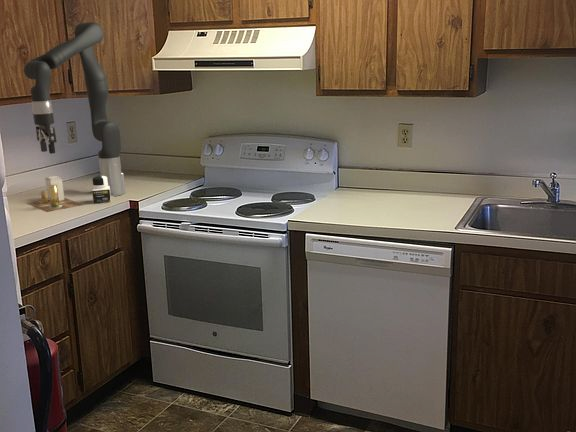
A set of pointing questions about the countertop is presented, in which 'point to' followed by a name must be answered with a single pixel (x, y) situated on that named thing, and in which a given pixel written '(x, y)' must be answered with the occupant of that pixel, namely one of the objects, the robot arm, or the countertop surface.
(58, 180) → the cover
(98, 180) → the medicine bottle
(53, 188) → the brass pin
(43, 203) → the board
